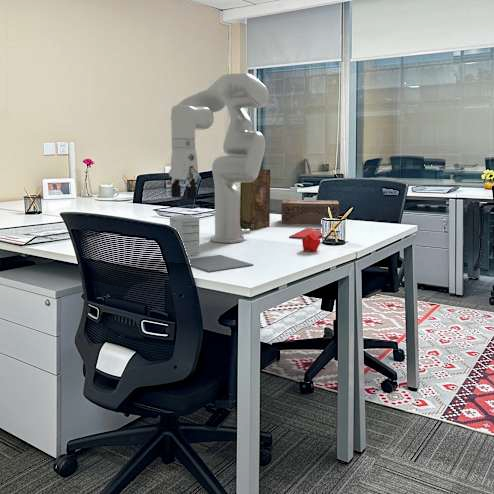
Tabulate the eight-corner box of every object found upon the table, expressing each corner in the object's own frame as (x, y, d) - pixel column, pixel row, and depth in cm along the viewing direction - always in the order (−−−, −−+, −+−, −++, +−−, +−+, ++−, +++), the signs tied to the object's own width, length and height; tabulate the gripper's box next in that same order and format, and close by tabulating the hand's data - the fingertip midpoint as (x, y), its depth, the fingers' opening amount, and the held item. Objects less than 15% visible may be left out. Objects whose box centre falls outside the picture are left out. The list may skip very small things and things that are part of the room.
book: (260, 225, 259) (261, 169, 255) (271, 226, 256) (271, 169, 252) (240, 229, 246) (240, 170, 241) (250, 230, 243) (251, 170, 238)
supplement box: (169, 253, 192) (168, 216, 190) (188, 251, 197) (188, 214, 194) (180, 257, 186) (180, 218, 184) (200, 254, 191) (200, 217, 188)
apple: (309, 232, 204) (300, 227, 197) (326, 238, 201) (317, 233, 194) (302, 250, 204) (293, 246, 197) (319, 256, 200) (310, 252, 194)
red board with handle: (345, 230, 246) (312, 228, 252) (346, 224, 246) (312, 222, 252) (326, 242, 219) (288, 240, 225) (326, 235, 219) (288, 233, 225)
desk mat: (220, 255, 189) (220, 254, 189) (253, 265, 175) (253, 264, 175) (177, 261, 180) (177, 260, 180) (209, 272, 165) (209, 270, 165)
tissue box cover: (281, 224, 263) (281, 202, 261) (282, 220, 277) (283, 199, 275) (338, 226, 260) (339, 203, 258) (337, 221, 274) (337, 200, 273)
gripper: (207, 145, 180) (207, 199, 183) (179, 145, 194) (180, 195, 197) (187, 144, 176) (187, 200, 179) (160, 144, 189) (160, 196, 192)
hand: (183, 198), depth 188 cm, fingers open, 9 cm apart
